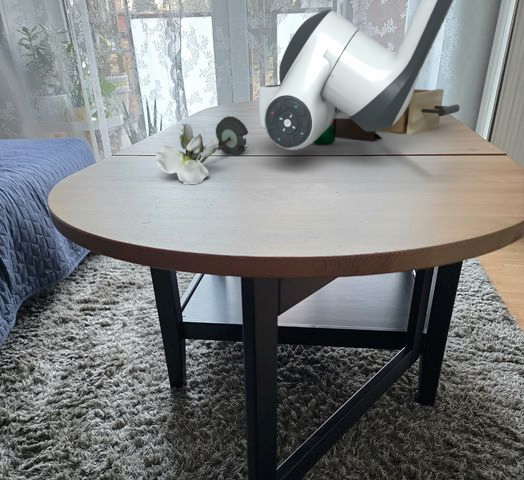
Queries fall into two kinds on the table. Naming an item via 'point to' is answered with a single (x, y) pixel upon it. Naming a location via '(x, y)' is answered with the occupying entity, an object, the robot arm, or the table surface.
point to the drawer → (422, 113)
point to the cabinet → (354, 131)
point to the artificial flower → (201, 150)
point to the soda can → (327, 135)
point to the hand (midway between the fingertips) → (322, 98)
